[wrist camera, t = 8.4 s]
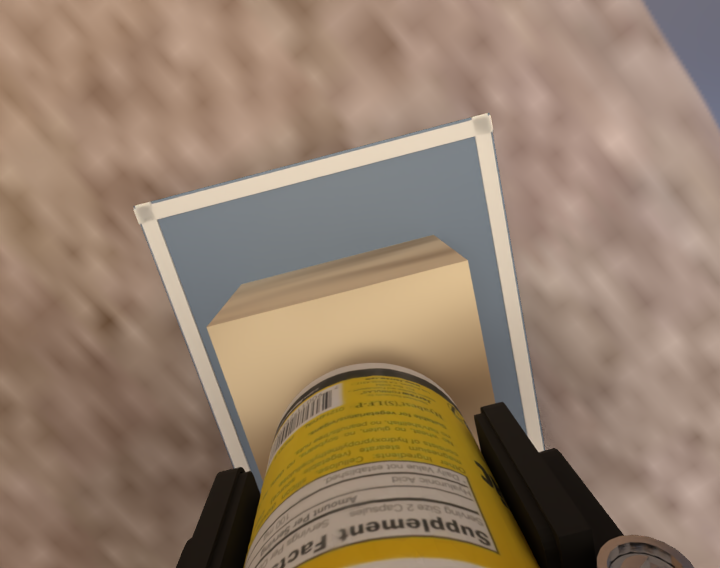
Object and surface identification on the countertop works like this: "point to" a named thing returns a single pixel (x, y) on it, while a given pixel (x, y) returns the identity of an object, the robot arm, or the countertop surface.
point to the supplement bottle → (380, 481)
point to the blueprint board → (346, 245)
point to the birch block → (352, 331)
